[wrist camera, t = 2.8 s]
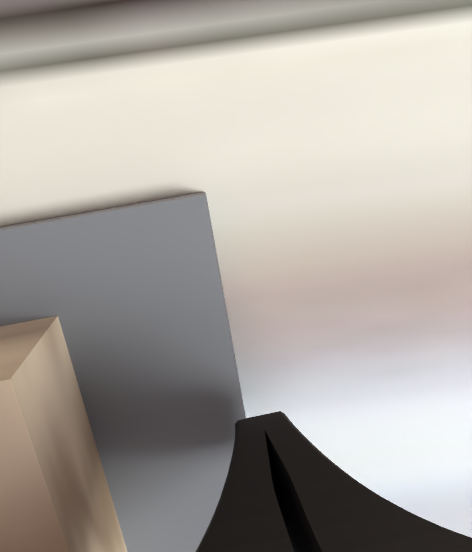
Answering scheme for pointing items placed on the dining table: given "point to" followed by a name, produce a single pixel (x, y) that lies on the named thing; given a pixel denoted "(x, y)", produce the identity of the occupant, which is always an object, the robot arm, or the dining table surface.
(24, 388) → the t block
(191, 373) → the board
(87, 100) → the dining table surface
